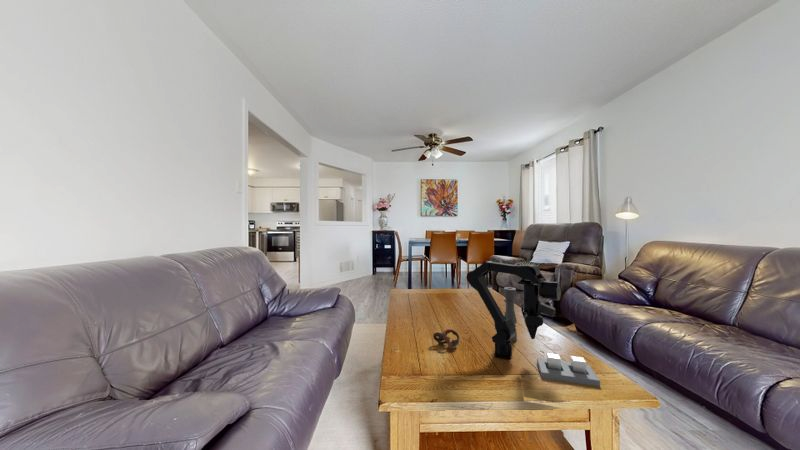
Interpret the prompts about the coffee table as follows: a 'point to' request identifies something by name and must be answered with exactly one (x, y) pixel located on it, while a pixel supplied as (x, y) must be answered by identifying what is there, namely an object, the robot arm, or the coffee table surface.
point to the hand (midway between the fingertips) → (531, 334)
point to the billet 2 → (578, 365)
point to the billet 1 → (553, 361)
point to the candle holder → (510, 306)
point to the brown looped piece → (446, 338)
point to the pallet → (568, 373)
